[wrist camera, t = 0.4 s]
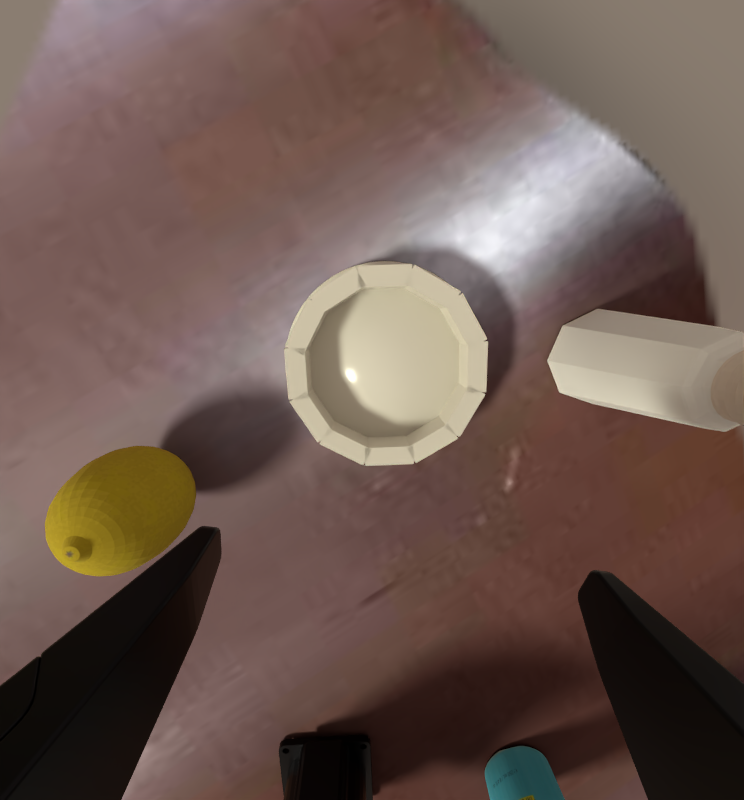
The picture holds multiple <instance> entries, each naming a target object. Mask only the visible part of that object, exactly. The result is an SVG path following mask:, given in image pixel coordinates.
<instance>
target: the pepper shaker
mask: <svg viewBox="0 0 744 800" xmlns="http://www.w3.org/2000/svg"><path fill="white" fill-rule="evenodd" d="M547 361H548V364H549V367H550V369H551V372H552V374H553V377H554V379H555V382H556V385H557V387H558V390H559V392H560V393H562V394H565V395H568V396H571V397H574V398H577V399H580V400H583V401H586V402H589V403H592V404H596V405H601V406H605V407H610V408H614V409H619V410H623V411H628V412H632V413H637V414H641V415H646V416H651V417H655V418H660V419H664V420H669V421H673V422H678V423H682V424H687V425H691V426H696V427H701V428H705V429H711V430H717V431H723V432H726V431H728V430H730V429H732V428H735V427H737V426H739V425H743V426H744V332H741V331H737V330H732V329H727V328H722V327H717V326H710V325H703V324H697V323H690V322H683V321H677V320H670V319H663V318H657V317H650V316H643V315H637V314H630V313H623V312H617V311H610V310H603V309H596V310H594V311H592V312H590V313H588V314H585V315H583V316H581V317H579V318H577V319H575V320H573V321H571V322H569V323H567V324H565V325H563V326H562V328H561V330H560V333H559V335H558V337H557V340H556V342H555V344H554V346H553V349H552V351H551V353H550V355H549V358H548V360H547Z"/></svg>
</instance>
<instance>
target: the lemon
mask: <svg viewBox="0 0 744 800" xmlns="http://www.w3.org/2000/svg"><path fill="white" fill-rule="evenodd" d="M195 498H196V488H195V481H194V478H193V476H192V473H191V471H190V470H189V468H188V467H187V465H186V464H185V463H184V462H183V461H182V460H181V459H180V458H179V457H177V456H176V455H174V454H172V453H170V452H169V451H167V450H163V449H160V448H156V447H149V446H133V447H128V448H123V449H118V450H115V451H112V452H109V453H107V454H105V455H103V456H101V457H99V458H97V459H95V460H93V461H91V462H90V463H88V464H87V465H85V466H84V467H83V468H81V469H80V470H79V471H78V472H77V473H76V474H75V475H74V476H72V477H71V478H70V479H69V480H68V481H67V482H66V483H65V484H64V485H63V486H62V487H61V489H60V490H59V491H58V493H57V495H56V496H55V498H54V500H53V501H52V503H51V505H50V506H49V509H48V512H47V517H46V521H45V532H46V540H47V543H48V545H49V548H50V550H51V551H52V553H53V554H54V556H55V557H56V558H57V559H58V560H59V561H60V562H61V563H62V564H63V565H65V566H66V567H68V568H69V569H71V570H73V571H76V572H79V573H82V574H85V575H92V576H111V575H117V574H121V573H124V572H127V571H130V570H133V569H135V568H137V567H139V566H141V565H143V564H144V563H146V562H148V561H149V560H151V559H152V558H154V557H156V556H157V555H159V554H160V553H161V552H163V551H164V550H165V549H166V548H167V547H168V546H169V545H170V544H171V543H172V542H173V541H174V540H175V539H176V538H177V537H178V536H179V534H180V533H181V532H182V531H183V529H184V528H185V526H186V524H187V522H188V520H189V518H190V516H191V514H192V512H193V509H194V504H195Z"/></svg>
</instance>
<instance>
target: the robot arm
mask: <svg viewBox="0 0 744 800" xmlns="http://www.w3.org/2000/svg"><path fill="white" fill-rule="evenodd" d="M220 559H221V534H220V530H219V528H217V527H209V526H201V527H199V528H198V529H197V530H195V531H194V532H193V533H192V534H190V535H189V536H188V537H187V538H185V539H184V540H183V541H182V542H180V543H179V544H178V545H177V546H175V547H174V548H173V549H172V550H170V551H169V552H168V553H167V554H165V555H164V556H163V557H162V558H160V559H159V560H158V561H156V562H155V563H154V564H153V565H151V566H150V567H149V568H148V569H146V570H145V571H144V572H143V573H141V574H140V575H139V576H138V577H136V578H135V579H134V580H133V581H131V582H130V583H129V584H128V585H126V586H125V587H124V588H123V589H121V590H120V591H119V592H118V593H116V594H115V595H114V596H113V597H111V598H110V599H109V600H108V601H106V602H105V603H104V604H103V605H101V606H100V607H99V608H98V609H96V610H95V611H94V612H93V613H91V614H90V615H89V616H88V617H86V618H85V619H84V620H83V621H81V622H80V623H79V624H78V625H76V626H75V627H74V628H73V629H71V630H70V631H69V632H68V633H66V634H65V635H64V636H62V637H61V638H60V639H59V640H57V641H56V642H55V643H54V644H52V645H51V646H50V647H49V648H47V649H46V650H45V651H44V652H43V653H42V654H41V657H39V656H38V657H36V658H35V659H33V660H32V661H31V662H30V663H28V664H27V665H26V666H25V667H23V668H22V669H21V670H20V671H18V672H17V673H16V674H15V675H13V676H12V677H11V678H9V679H8V680H7V681H6V682H4V683H3V684H2V685H0V800H121V799H122V797H123V794H124V792H125V790H126V788H127V786H128V783H129V781H130V779H131V777H132V774H133V772H134V770H135V768H136V766H137V763H138V761H139V759H140V757H141V754H142V752H143V750H144V748H145V746H146V743H147V741H148V739H149V737H150V734H151V732H152V730H153V728H154V725H155V723H156V721H157V719H158V717H159V714H160V712H161V710H162V708H163V705H164V703H165V701H166V699H167V697H168V694H169V692H170V690H171V688H172V685H173V683H174V681H175V679H176V677H177V674H178V672H179V670H180V668H181V665H182V663H183V661H184V659H185V656H186V654H187V652H188V650H189V648H190V645H191V643H192V641H193V638H194V636H195V634H196V631H197V629H198V626H199V623H200V620H201V617H202V614H203V611H204V608H205V605H206V602H207V599H208V596H209V593H210V590H211V587H212V584H213V581H214V578H215V575H216V572H217V569H218V566H219V563H220ZM578 601H579V605H580V609H581V612H582V616H583V619H584V623H585V626H586V630H587V633H588V637H589V640H590V644H591V647H592V650H593V654H594V657H595V661H596V664H597V667H598V670H599V673H600V676H601V678H602V681H603V684H604V686H605V689H606V691H607V694H608V697H609V699H610V702H611V704H612V707H613V710H614V712H615V715H616V717H617V720H618V723H619V725H620V728H621V730H622V733H623V736H624V738H625V741H626V743H627V746H628V749H629V751H630V754H631V756H632V759H633V762H634V764H635V767H636V769H637V772H638V775H639V777H640V780H641V782H642V785H643V788H644V790H645V793H646V795H647V798H648V800H744V684H743V683H742V682H741V681H740V680H738V679H737V678H736V677H735V676H734V675H733V674H731V673H730V672H729V671H728V670H727V669H725V668H724V667H723V666H722V665H721V664H719V663H718V662H717V661H716V660H715V659H713V658H712V657H711V656H710V655H709V654H707V653H706V652H705V651H704V650H703V649H702V648H700V647H699V646H698V645H697V644H696V643H694V642H693V641H692V640H691V639H690V638H688V637H687V636H686V635H685V634H684V633H682V632H681V631H680V630H679V629H678V628H677V627H675V626H674V625H673V624H672V623H671V622H669V621H668V620H667V619H666V618H665V617H663V616H662V615H661V614H660V613H659V612H657V611H656V610H655V609H654V608H653V607H651V606H650V605H649V604H648V603H647V602H646V601H644V600H643V599H642V598H641V597H640V596H638V595H637V594H636V593H635V592H634V591H632V590H631V589H630V588H629V587H628V586H626V585H625V584H624V583H623V582H622V581H620V580H619V579H618V578H617V577H616V576H615V575H613V574H612V573H610V572H606V571H598V570H593V571H591V572H590V573H589V575H588V576H587V578H586V580H585V581H584V583H583V585H582V586H581V588H580V590H579V592H578ZM279 757H280V766H281V775H282V783H283V792H284V800H373V796H372V773H371V750H370V738H369V737H368V736H365V735H358V736H340V737H321V738H302V739H286V740H283V741H281V743H280V747H279Z"/></svg>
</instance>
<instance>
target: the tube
mask: <svg viewBox="0 0 744 800" xmlns="http://www.w3.org/2000/svg"><path fill="white" fill-rule="evenodd" d="M485 779H486V783H487V788H488V792H489V796H490V800H565V799H564V797H563V795H562V792H561V790H560V788H559V786H558V783H557V781H556V779H555V776H554V774H553V772H552V770H551V767H550V765H549V763H548V761H547V759H546V757H545V756H544V755H543V754H542V753H541V752H540V751H538V750H536V749H534V748H531V747H527V746H516V747H512V748H508V749H504V750H501V751H499V752H497V753H496V754H495V755H494V756H493V757H492V758H491V759H490V760H489V761H488V763H487V766H486V768H485Z"/></svg>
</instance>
